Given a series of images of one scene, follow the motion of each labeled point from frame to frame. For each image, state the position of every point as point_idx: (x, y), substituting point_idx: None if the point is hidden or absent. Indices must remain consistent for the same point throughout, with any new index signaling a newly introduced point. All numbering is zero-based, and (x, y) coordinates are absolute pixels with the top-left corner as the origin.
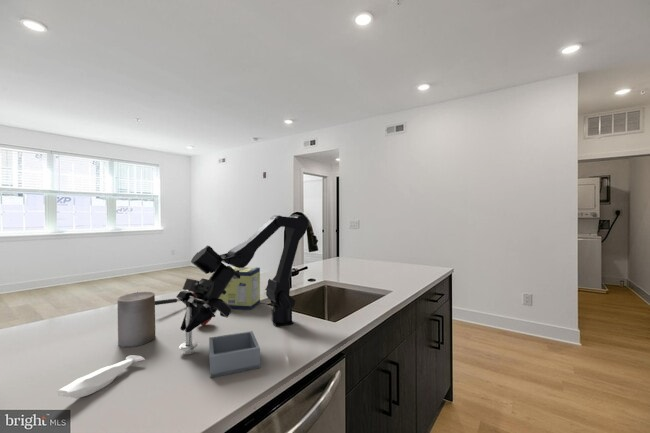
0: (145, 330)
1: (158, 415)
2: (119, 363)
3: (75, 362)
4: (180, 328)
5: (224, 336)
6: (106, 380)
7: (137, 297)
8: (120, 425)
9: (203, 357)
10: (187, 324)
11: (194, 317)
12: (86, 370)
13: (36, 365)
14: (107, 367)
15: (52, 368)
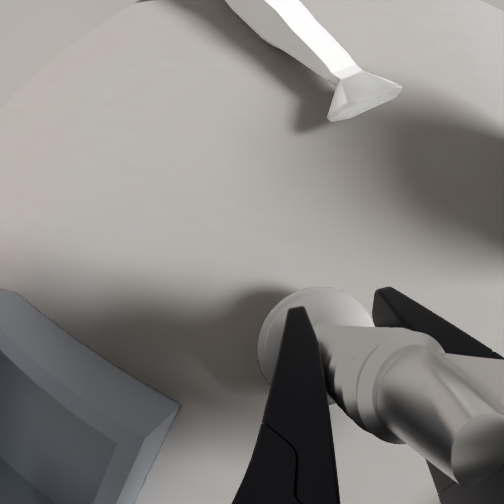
0: None
1: (10, 121)
2: (323, 40)
3: (475, 49)
4: (388, 287)
5: (97, 498)
6: (246, 18)
7: None
8: (52, 62)
9: (188, 376)
10: (346, 346)
11: (280, 443)
12: (411, 38)
13: (486, 20)
14: (287, 3)
15: (460, 21)
